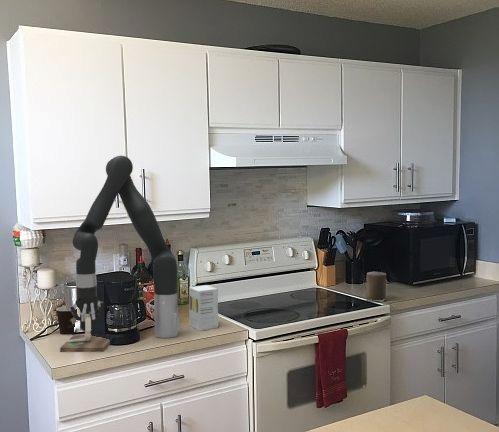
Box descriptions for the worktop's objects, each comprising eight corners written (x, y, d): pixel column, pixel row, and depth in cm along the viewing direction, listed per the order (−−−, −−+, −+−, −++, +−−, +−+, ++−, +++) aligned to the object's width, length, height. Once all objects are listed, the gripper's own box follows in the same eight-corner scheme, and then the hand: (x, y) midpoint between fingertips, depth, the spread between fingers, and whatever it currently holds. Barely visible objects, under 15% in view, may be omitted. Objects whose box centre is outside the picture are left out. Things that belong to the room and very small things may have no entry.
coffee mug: (61, 336, 232) (60, 312, 232) (54, 331, 239) (53, 307, 239) (89, 331, 239) (88, 307, 238) (81, 326, 246) (81, 303, 245)
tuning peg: (90, 337, 224) (89, 314, 223) (91, 342, 219) (90, 317, 218) (67, 340, 221) (66, 316, 221) (67, 344, 216) (67, 320, 215)
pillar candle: (381, 303, 286) (382, 273, 285) (363, 300, 291) (363, 271, 290) (388, 299, 294) (389, 270, 293) (369, 297, 299) (370, 268, 298)
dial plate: (114, 338, 229) (114, 334, 229) (103, 351, 213) (103, 347, 213) (73, 338, 229) (73, 334, 229) (60, 351, 213) (60, 347, 213)
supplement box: (188, 325, 247) (188, 286, 246) (207, 322, 252) (207, 284, 251) (199, 331, 239) (198, 290, 238) (218, 327, 244) (218, 288, 243)
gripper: (100, 281, 226) (102, 324, 228) (64, 285, 218) (66, 330, 220) (107, 284, 220) (108, 329, 221) (70, 288, 212) (72, 335, 214)
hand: (87, 329), depth 221 cm, fingers closed on tuning peg, 2 cm apart
